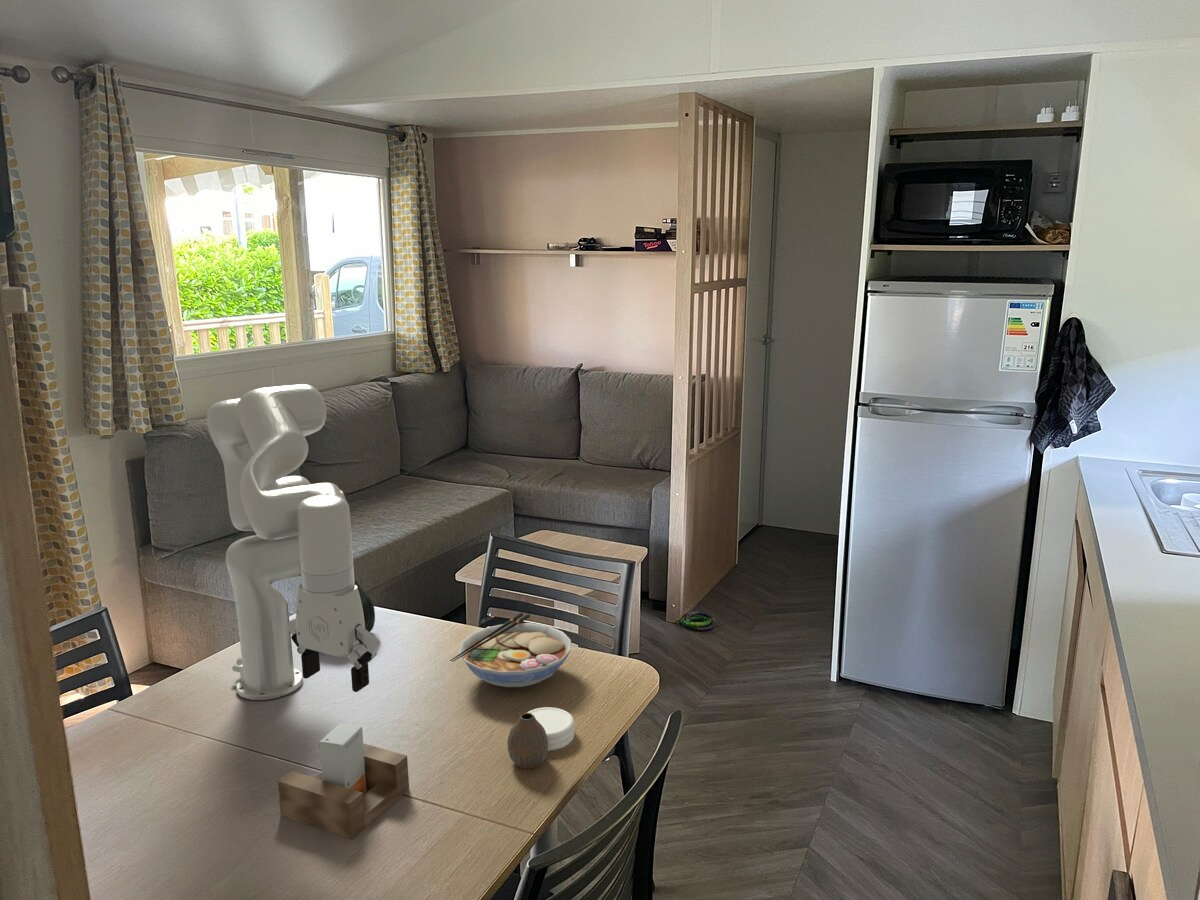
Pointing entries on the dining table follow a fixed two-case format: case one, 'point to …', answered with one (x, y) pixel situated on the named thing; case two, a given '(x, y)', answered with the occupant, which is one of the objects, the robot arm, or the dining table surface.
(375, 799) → the socket
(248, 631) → the robot arm
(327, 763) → the skincare box
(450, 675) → the dining table surface
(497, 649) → the ramen bowl
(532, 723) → the vase
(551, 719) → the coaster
